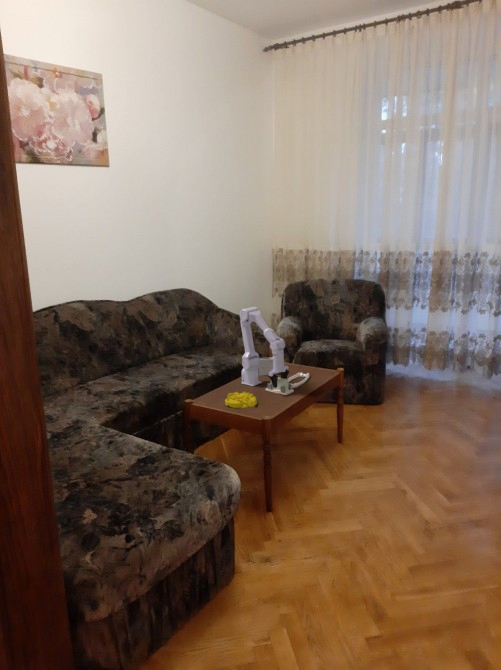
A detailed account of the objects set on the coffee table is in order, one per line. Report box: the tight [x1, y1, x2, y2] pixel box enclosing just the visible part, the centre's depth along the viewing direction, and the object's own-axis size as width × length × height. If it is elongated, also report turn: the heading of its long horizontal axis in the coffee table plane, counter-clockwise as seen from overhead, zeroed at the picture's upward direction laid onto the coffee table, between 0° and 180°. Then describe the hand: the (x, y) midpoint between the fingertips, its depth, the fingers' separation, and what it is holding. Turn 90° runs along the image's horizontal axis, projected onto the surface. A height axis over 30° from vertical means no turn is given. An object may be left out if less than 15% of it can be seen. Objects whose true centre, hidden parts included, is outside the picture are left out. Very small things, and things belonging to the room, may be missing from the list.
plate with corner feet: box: [265, 382, 295, 396], centre depth 271 cm, size 14×7×4 cm, turn 48°
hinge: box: [258, 356, 273, 377], centre depth 301 cm, size 14×5×10 cm, turn 105°
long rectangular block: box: [269, 376, 289, 392], centre depth 270 cm, size 10×3×6 cm, turn 48°
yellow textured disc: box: [224, 391, 258, 409], centre depth 257 cm, size 17×16×4 cm
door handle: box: [287, 371, 310, 390], centre depth 285 cm, size 3×10×25 cm
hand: (279, 385), depth 270 cm, fingers open, 7 cm apart
